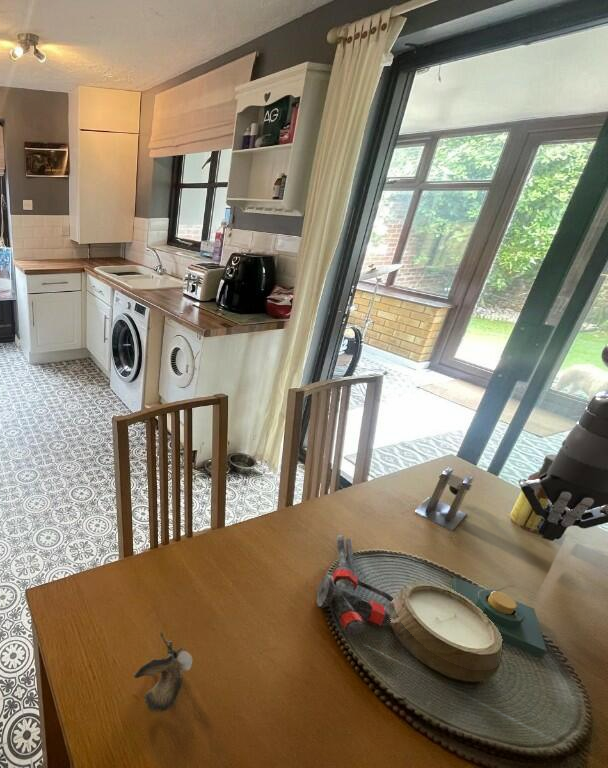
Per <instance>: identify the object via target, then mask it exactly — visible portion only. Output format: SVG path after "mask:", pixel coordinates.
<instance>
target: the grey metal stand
mask: <svg viewBox="0 0 608 768" xmlns="http://www.w3.org/2000/svg"><path fill="white" fill-rule="evenodd" d="M453 471H454V468H451V467H447V469H445V470H444V471H442V472H441V473H440V474H439V476H438V478H439V479H438V482H437V484H436V486H435V488H434V490H433V493H432V495H431V496H428V498H426V499H425V500H424V501H423V502H422V503H421V504H420V505H419V506H418V507H417V508H416V509H415V510H414V511H413V512H414V513H415V514H417V515H419V516H421V517H423V518H425V519H426V520H429V521H431V522H433V523H435V524H437V525H439V526H441V527H443V528H445V529H447V530H448V531H451V532H453V531H454V530H455V529H456V528H457V527H458V526H459V524H460V523H461V522H462V521H463V520H464V519H465V518H466V516H467V515H468V513H466V512H463V511H461V510H459V509H460V507H461V505H462V503H463V502H464V499H465V497H466V495H467V493H468V491H470V490H471V489H472V487H473V485H472V482H473V481H474V479H475V477H473V476H471V475H468V476H467V477H465V479H463V482H462V484H461V486H460V488H459V490H458V492H457V495H455V497H454V499H453V501H452V503H451V505H448V504H447V503H444V502H442V501H441V498H442V495H443V493H444V491H445V489H446V487H447V486H448V484H447V481H448V479H449V478H450V476H451V474H453Z"/></svg>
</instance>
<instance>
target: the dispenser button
mask: <svg viewBox="0 0 608 768" xmlns="http://www.w3.org/2000/svg"><path fill="white" fill-rule="evenodd" d="M493 591H494V592H492V593H491V594H490V596H489V598H488V603H489V604H490V606H491V607H493V608H494V609H496V610H497V611H499V612H501V613H504V614H507V615H510V614H512V613H513V612H514V610H515V609H516V607H517V605H516V603H515V601H516V600H514V599H513V598H512V597H510V596H509V595H508V594H505V593H504V592H500V591H495V590H493Z"/></svg>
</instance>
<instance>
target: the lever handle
mask: <svg viewBox="0 0 608 768" xmlns="http://www.w3.org/2000/svg"><path fill="white" fill-rule="evenodd" d="M463 481H464V479H463V478H462V477H460V476H457V475H455V474H453V473H452V474H451V476H450V478H449V479H448V481H447V486H449V487H448V489H449V491H450V493H451V494H452V495H454V496H456V495H457V492H458V490H459V488H460V486H461V484H462V482H463Z"/></svg>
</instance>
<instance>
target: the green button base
mask: <svg viewBox="0 0 608 768" xmlns="http://www.w3.org/2000/svg"><path fill="white" fill-rule="evenodd" d="M451 582H452V583H451V584H452V589H453V590H454V591H456V592H457V593H460V594H461V595H463V596H465V597H466V598H468V599H469V600H471V601H472V602H473V603H474V604H475V605H476V606H477V607H479V608H480V609H481V610H482V611H483V613H484V614H486V615H487V617H488V618H489V619H490V620H491V621H492V622H493V623H494V625H495V626H496V627H497V628H498V630H499V632H500V633H501V636H502V639H503V642H502V643H504V644H506V645H507V646H508V645H509V646H511V647H513V648H515V647H516V648H515V649H518V650H520V651H522V652H525V653H527V654H529V655H531V656H534V657H536V658H539V659H543V657H544V656H545V654H546V653H547V646H546V644H545V640H544V637H543V634H542V630H541V626H540V624H539V619H538V617H537V613H536V611H535V610H536V609H535V608H534V607H532V606H530V605H527V604H524V603H522V602H519V601H517V600H514V601H515V603H516V605H517V607H516V609H515V610H514V612H513V613H512V614H510V615H507V614H504V613H501V612H499V611H497V610H496V609H494V608H493V607H491V606H490V604H489V603H488V598H489V596H490V594H491V593H492V592H494V591H495V590H493V589H486V588H483V587H480V586H478V585H475V584H473V583H471V582H468V581H465V580H462V579H460V578H457V577H454V578H453V580H452V581H451Z"/></svg>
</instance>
